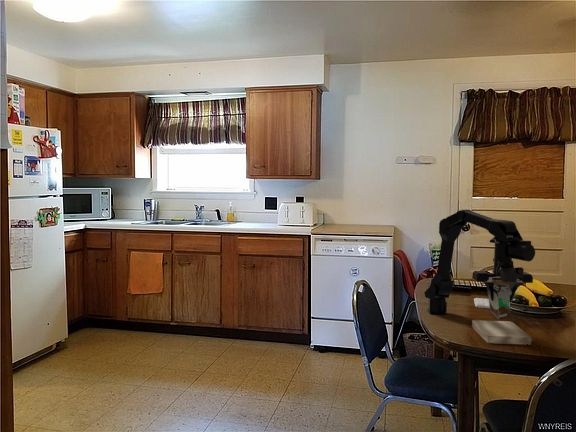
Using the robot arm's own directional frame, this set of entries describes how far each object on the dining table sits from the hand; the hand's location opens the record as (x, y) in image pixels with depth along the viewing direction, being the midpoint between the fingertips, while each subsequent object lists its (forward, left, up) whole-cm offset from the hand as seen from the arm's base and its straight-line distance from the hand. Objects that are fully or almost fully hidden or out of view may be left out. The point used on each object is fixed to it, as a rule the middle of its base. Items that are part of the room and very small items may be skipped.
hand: (501, 300), depth 166 cm
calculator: (+14, +42, -13) cm, 46 cm away
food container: (+1, 0, -5) cm, 5 cm away
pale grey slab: (0, 0, -13) cm, 13 cm away
